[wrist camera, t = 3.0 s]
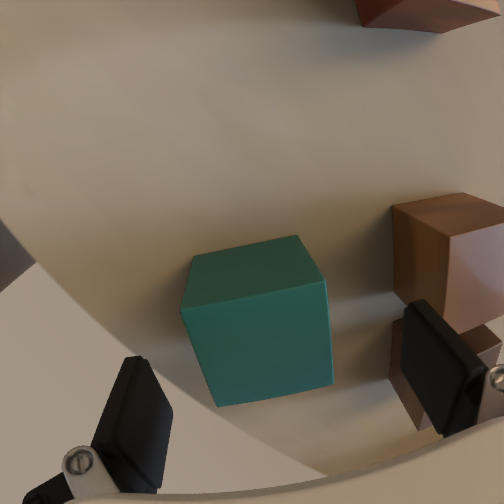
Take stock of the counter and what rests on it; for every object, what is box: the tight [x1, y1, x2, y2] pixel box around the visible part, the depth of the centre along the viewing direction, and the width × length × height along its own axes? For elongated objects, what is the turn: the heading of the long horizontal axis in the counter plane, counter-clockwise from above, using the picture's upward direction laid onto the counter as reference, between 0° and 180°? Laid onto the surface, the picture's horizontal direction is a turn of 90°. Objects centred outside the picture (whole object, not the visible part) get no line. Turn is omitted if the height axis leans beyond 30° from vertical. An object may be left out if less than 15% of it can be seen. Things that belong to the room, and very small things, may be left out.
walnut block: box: [389, 319, 503, 431], centre depth 16 cm, size 5×5×5 cm
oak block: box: [392, 193, 504, 334], centre depth 13 cm, size 5×5×5 cm
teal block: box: [180, 235, 334, 407], centre depth 14 cm, size 5×5×5 cm
